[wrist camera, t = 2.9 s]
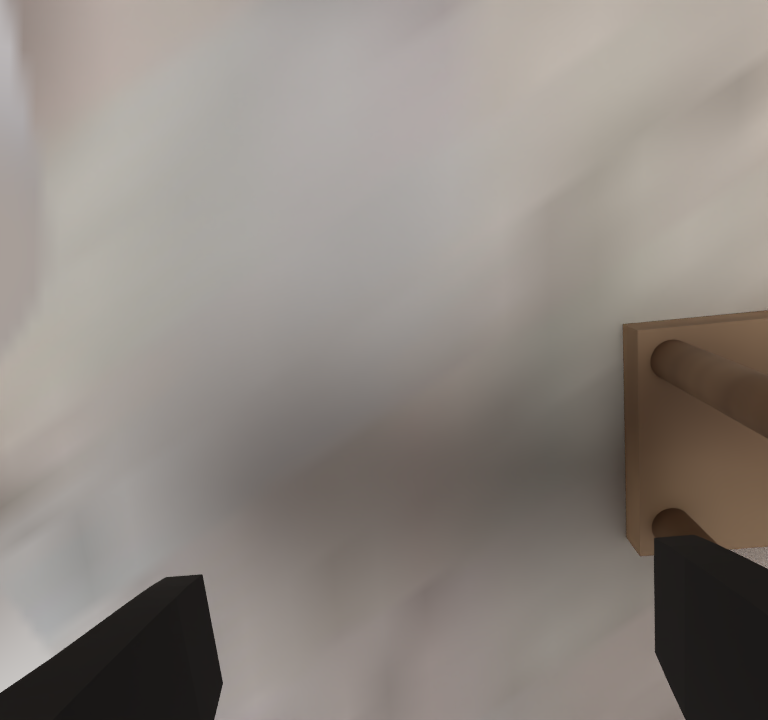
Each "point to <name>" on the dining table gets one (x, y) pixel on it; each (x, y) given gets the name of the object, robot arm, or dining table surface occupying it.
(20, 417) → the dining table surface
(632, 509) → the stool
